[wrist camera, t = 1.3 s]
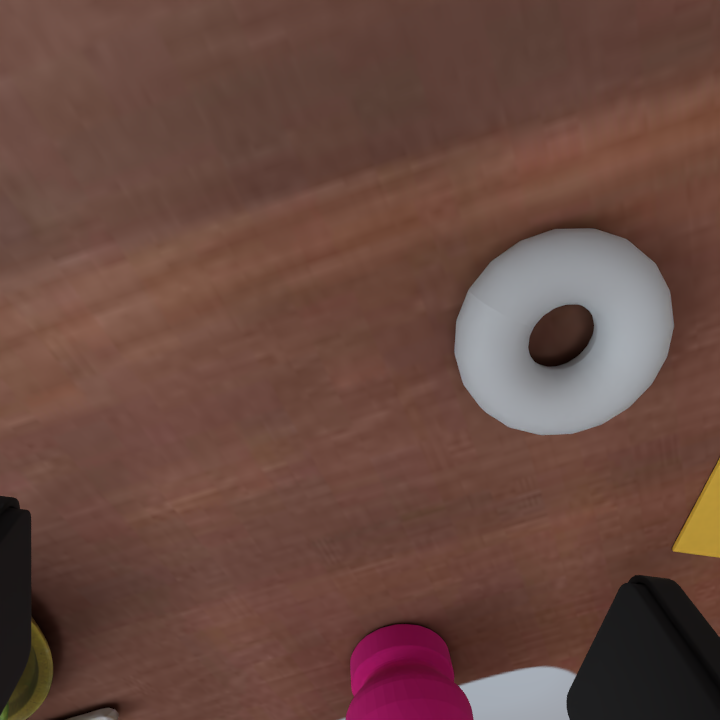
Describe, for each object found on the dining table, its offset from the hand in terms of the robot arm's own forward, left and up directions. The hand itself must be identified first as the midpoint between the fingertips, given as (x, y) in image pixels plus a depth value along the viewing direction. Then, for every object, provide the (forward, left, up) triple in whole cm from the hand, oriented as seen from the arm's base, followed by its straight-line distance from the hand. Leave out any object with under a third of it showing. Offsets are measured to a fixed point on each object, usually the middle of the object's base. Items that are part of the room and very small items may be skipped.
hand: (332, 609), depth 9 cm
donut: (0, +11, -19) cm, 22 cm away
